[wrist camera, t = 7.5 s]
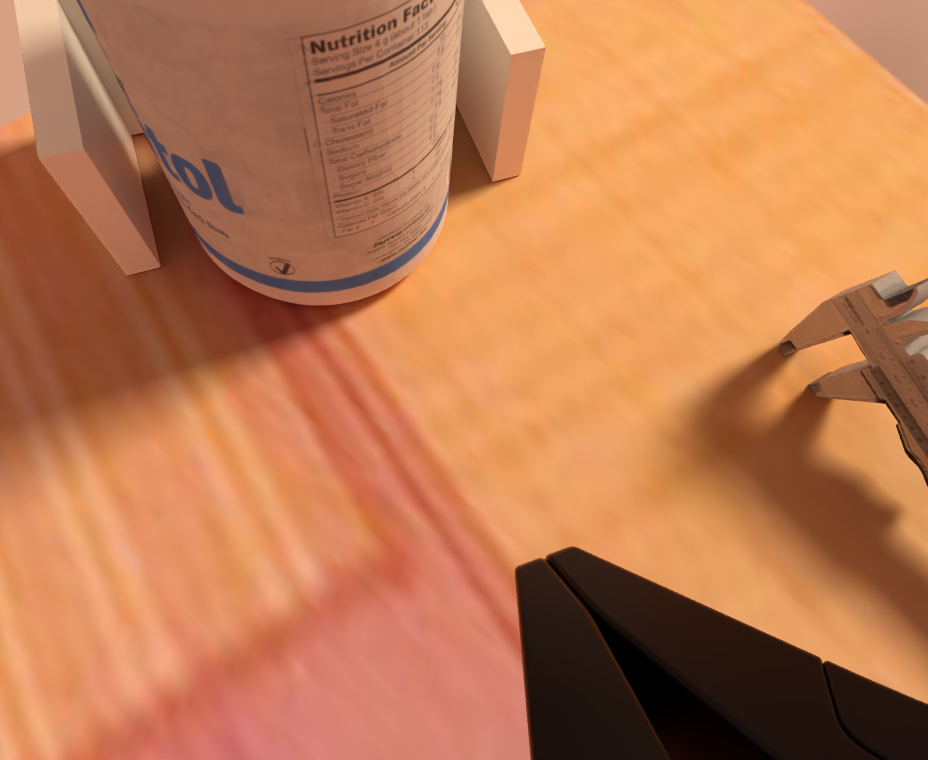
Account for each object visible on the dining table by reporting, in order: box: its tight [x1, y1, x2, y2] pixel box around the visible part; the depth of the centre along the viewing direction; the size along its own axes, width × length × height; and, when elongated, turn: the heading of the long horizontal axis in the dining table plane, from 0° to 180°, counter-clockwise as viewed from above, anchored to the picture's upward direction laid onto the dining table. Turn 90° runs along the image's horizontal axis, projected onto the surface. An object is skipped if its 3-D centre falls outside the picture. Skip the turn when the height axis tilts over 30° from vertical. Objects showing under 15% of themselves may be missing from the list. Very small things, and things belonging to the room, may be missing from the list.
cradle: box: [14, 0, 546, 276], centre depth 24 cm, size 8×15×6 cm, turn 110°
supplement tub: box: [77, 0, 464, 305], centre depth 19 cm, size 10×10×15 cm
